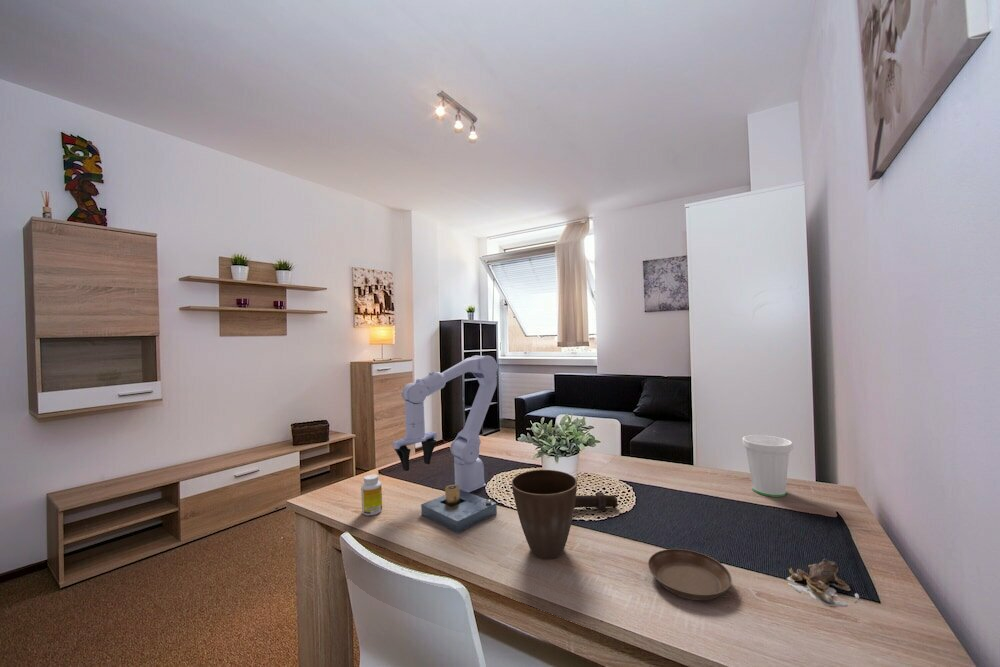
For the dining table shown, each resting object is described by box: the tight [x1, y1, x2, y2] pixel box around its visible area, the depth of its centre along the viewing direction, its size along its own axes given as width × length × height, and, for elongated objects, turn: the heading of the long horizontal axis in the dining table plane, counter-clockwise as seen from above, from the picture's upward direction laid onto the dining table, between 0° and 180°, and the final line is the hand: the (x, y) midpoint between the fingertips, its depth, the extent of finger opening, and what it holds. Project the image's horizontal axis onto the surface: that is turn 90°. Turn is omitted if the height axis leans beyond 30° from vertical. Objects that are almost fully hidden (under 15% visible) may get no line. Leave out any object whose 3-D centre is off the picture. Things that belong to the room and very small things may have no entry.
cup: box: [741, 434, 794, 498], centre depth 118 cm, size 12×12×15 cm
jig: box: [420, 489, 498, 534], centre depth 111 cm, size 14×16×4 cm
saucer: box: [647, 548, 733, 601], centre depth 78 cm, size 15×15×3 cm
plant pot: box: [511, 469, 578, 560], centre depth 91 cm, size 15×15×16 cm
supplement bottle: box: [360, 474, 383, 517], centre depth 115 cm, size 6×6×10 cm
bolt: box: [574, 491, 618, 512], centre depth 111 cm, size 6×5×15 cm
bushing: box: [444, 484, 460, 507], centre depth 113 cm, size 4×4×7 cm
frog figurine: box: [787, 558, 860, 607], centre depth 76 cm, size 12×12×4 cm
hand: (416, 466), depth 121 cm, fingers open, 7 cm apart
